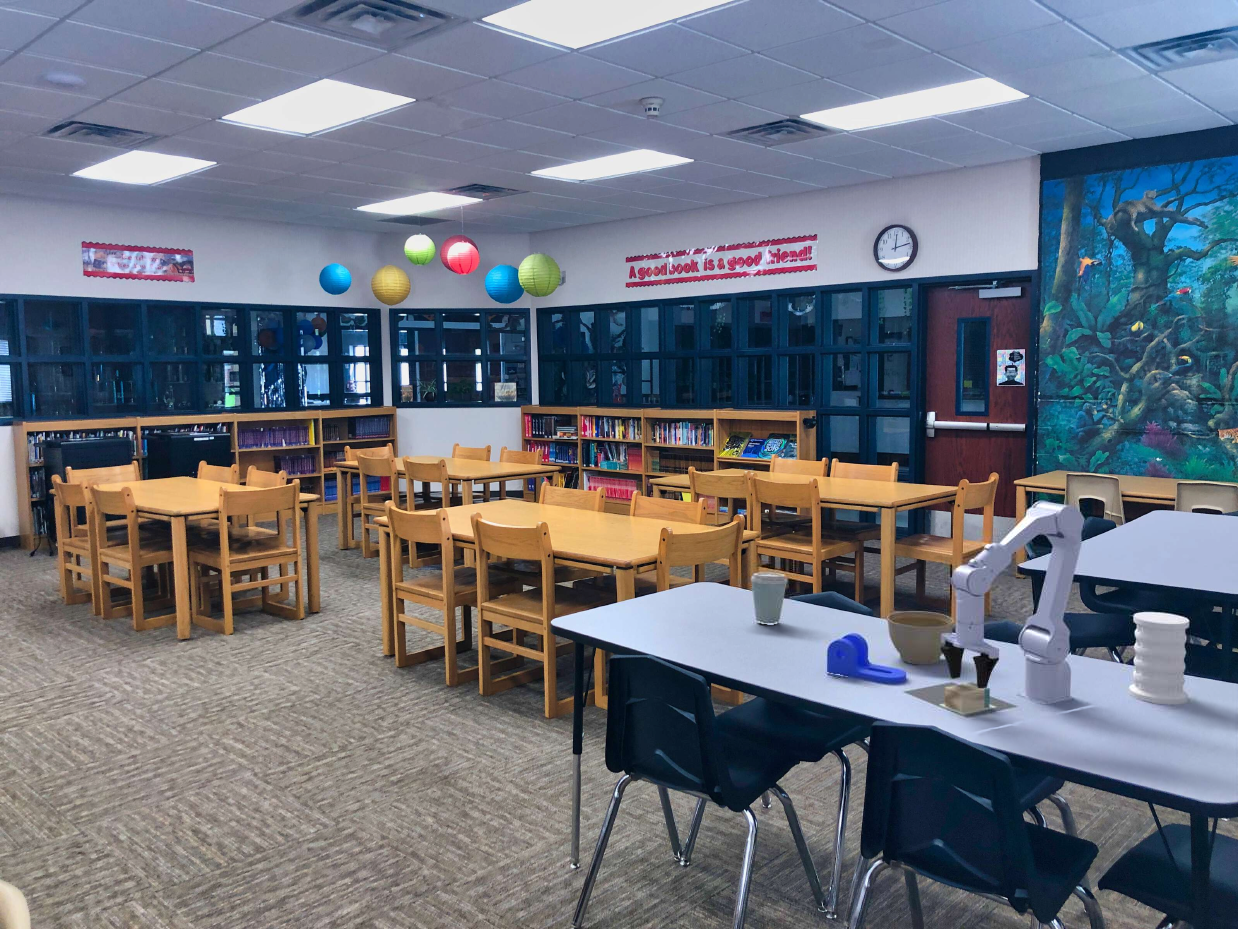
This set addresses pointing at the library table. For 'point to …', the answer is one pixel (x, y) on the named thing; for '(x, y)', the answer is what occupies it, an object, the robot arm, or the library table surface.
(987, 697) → the birch block
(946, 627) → the planter bowl
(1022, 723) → the library table surface
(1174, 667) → the decorative container
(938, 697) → the rubber mat
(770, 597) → the disposable coffee cup
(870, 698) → the library table surface
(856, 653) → the bracket
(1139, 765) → the library table surface
